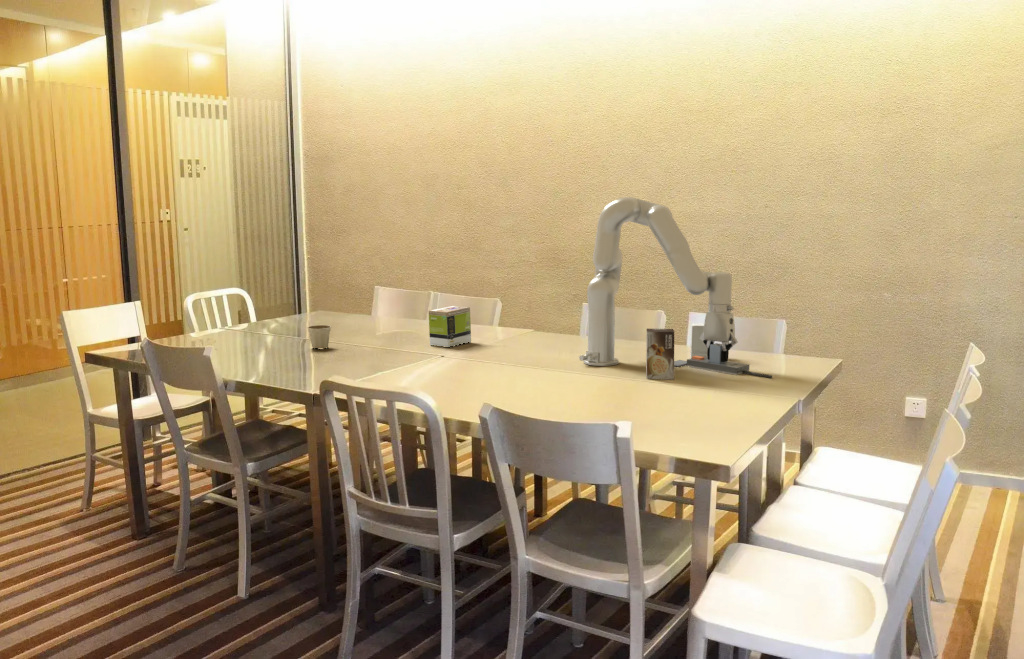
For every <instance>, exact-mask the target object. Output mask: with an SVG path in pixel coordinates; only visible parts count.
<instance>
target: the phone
mask: <svg viewBox="0 0 1024 659" xmlns="http://www.w3.org/2000/svg"><path fill="white" fill-rule="evenodd" d="M685 365H686V366H687V360H682V359H677V360H674V368H677V367H679V368H681V366H682V367H685Z"/></svg>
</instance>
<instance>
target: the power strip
mask: <svg viewBox="0 0 1024 659" xmlns="http://www.w3.org/2000/svg"><path fill="white" fill-rule="evenodd" d="M686 361H687V365H686V367H688V366H689V367H690V368H695V369H699V368H700V370H706V371H712V372H717V373H723V374H727V375H734V376H738V375H742V374H744V375H750V376H755V375H756V376H758V377H761V378H762V377H763V378H768V379H773V375H772V374H766V373H761V372H755V371H751V370H750V364H748V363H743V362H742V363H741V362H735V361H730V360H728V361H726V363H723V364H715V363H709V360H708V358H707V357H701V356H692V358H691V357H690V358H687V359H686Z"/></svg>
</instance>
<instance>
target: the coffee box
mask: <svg viewBox="0 0 1024 659" xmlns="http://www.w3.org/2000/svg"><path fill="white" fill-rule="evenodd" d="M645 352H646V353H645V355H646V356H645V357H646V358H645V362H646V363H645V367H646V368H645V370H646V371H645V375H646V379H647V378H648V379H647V380H675V367H674V361H675V330H674V328H646V351H645Z"/></svg>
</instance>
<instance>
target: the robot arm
mask: <svg viewBox="0 0 1024 659" xmlns="http://www.w3.org/2000/svg"><path fill="white" fill-rule="evenodd" d="M628 222H631V223H635V224H639V225H642V226H645V227H648V228H649V229H650V231H651V233H652V234H653V236H654V238H656V241H657V242H658V244H659V245H660V247H661V248H662V250H663V252H664V254H665V256H666V258H667V260H668V261H669V263H670V265H671V266H672V268H673V270H674V272H675V273H676V276H677V277H678V278H679V280H680V282H681V283H682V285H683V287H684V288H685V290H686V291H687V293H689V294H690V295H693V296H700V295H702V294H704V293H705V292H708V305H707V306H708V308H707V311H706V313H705V318H704V322H703V323H704V332H703V333H702V334H701V336H700V339H701V340H702V341H703V342H704V344H705V345H706V348H708V349H707V356H708V360H709V359H710V345H711V344H715V342H720V343H721V344H722V347H723V351H721V362H726V361H729V352H730V350H731V349H732V348H733V347H734V346H735V345H736V344H738V343H739V342H738V340H737V338H736V326H735V317H734V312H732V311H734V310H735V309H734V308H735V307H734V306H732V288H733V287H732V286H733V284H732V283H733V277H732V274H731V273H730V272H726V271H725V272H724V271H716V272H715V271H714V272H711V271H710V272H709V271H703V270H701V268H700V267H699V265H698V263H697V262H696V260H695V258H694V256H693V253H692V252H691V248H690V244H689V242H688V240H687V238H686V236H685V235H684V234H683V232H682V230H681V228H680V227H679V226H678V224H677V222H676V220H675V219H674V216H673V212H672V211H671V209H670V208H669V207H667V206H666V205H663V204H659V203H658V204H657V203H654V202H651V201H646V200H643V199H640V198H636V197H634V196H633V197H632V196H625V197H619V198H617V199H615V200H613V201H611V202H609V203H608V204H606V205H605V207H603V209H602V211H601V212H600V213H599V217H598V220H597V226H596V233H595V239H594V247H593V249H594V250H593V254H592V263H593V265H594V267H595V268H594V275H593V276H594V277H593V278H592V279H591V280H590V281H589V283H588V285H587V291H586V297H587V350H586V352H585V354H581V355H579V356H578V358H579V361H582V362H583V363H584V364H585V365H588V366H595V367H596V366H597V367H606V366H607V367H608V366H609V367H610V366H616V365H618V364H619V361H620V360H619V359H618V358H616V357H615V345H616V344H615V340H616V339H615V338H616V337H615V336H616V335H615V331H616V330H615V328H616V323H615V322H616V308H615V307H616V306H615V304H616V302H615V295H617V293H618V291H619V288H620V281H621V273H622V272H621V271H622V266H623V265H622V264H623V253H622V251H621V250H622V249H621V248H620V240H621V232H622V226H623V224H625V223H628Z"/></svg>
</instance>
